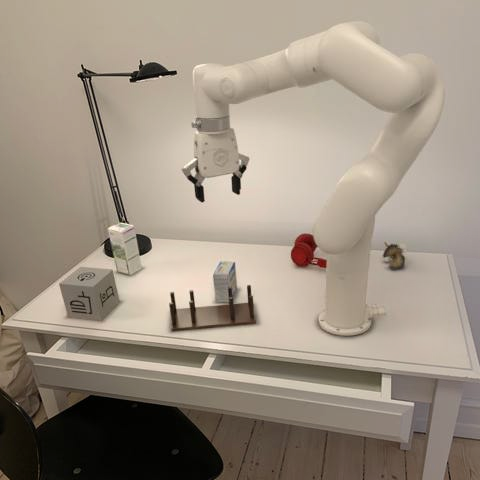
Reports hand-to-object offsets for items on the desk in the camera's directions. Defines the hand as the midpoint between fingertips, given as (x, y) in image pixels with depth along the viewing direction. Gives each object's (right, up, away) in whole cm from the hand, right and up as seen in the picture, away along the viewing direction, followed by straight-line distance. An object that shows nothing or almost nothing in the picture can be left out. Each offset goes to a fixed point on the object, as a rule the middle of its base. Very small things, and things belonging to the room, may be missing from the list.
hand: (218, 197), depth 127 cm
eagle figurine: (+51, -14, +26) cm, 58 cm away
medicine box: (+2, -24, +15) cm, 28 cm away
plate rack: (-2, -30, +5) cm, 30 cm away
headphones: (+31, -13, +29) cm, 45 cm away
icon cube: (-34, -28, +13) cm, 46 cm away
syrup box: (-29, -15, +33) cm, 46 cm away
